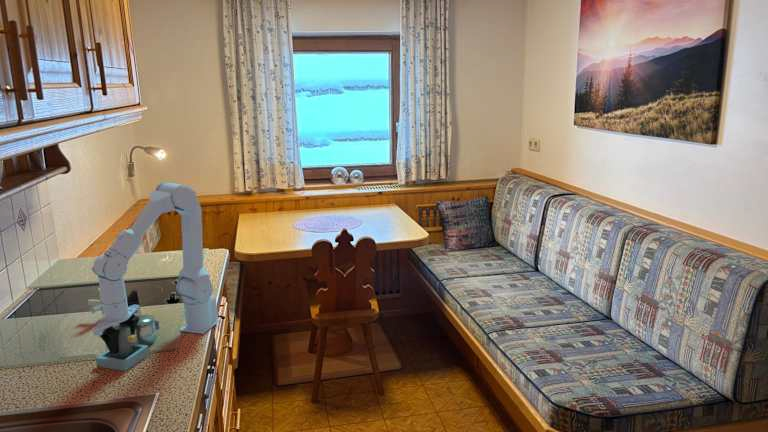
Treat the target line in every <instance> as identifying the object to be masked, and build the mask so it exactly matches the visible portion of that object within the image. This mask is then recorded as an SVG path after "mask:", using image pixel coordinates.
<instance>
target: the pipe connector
mask: <svg viewBox="0 0 768 432" xmlns="http://www.w3.org/2000/svg"><path fill="white" fill-rule="evenodd" d="M97 290H98V297H99V299H92V298H91V299H88V300H87V305H88V306H92V307H90V308H89V311H90V313H92V314H95V313H97V312H98V311H99V310H101V314H102V316H103V315H104V310H103V304H102V298H101V292H100V287H99V288H97Z"/></svg>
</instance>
